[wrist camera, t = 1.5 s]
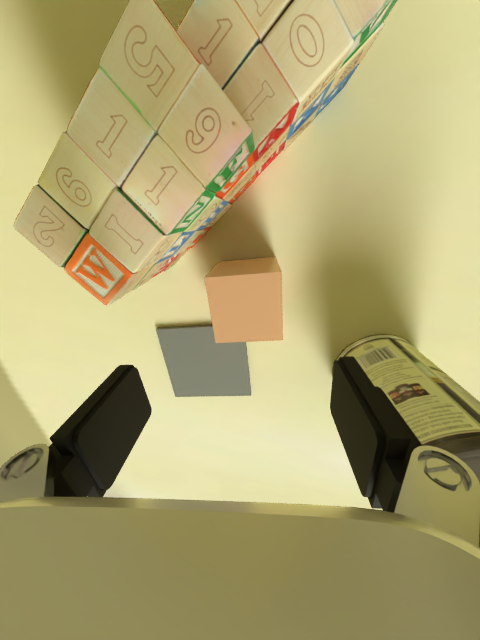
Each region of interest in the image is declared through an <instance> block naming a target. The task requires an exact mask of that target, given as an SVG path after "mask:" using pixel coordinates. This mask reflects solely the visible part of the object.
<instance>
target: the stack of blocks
mask: <svg viewBox="0 0 480 640" xmlns="http://www.w3.org/2000/svg"><path fill="white" fill-rule="evenodd" d="M396 1H397V0H194V1H193V3H192V4H191V6H190V8H189V10H188V12H187V13H186V15H185V17H184V18H183V20H182V22H181V24H180V25H179V27H178V29H177V31H176V30H175V29H174V27H173V26H172V25H171V23H170V22H169V21H168V19H167V18H166V16H165V15H164V13H163V12H162V11H161V9H160V8H159V6H158V5H157V4H156V2H155V1H154V0H129V2H128V4H127V6H126V8H125V10H124V12H123V14H122V16H121V18H120V20H119V22H118V25H117V27H116V29H115V30H114V32H113V34H112V36H111V38H110V40H109V42H108V44H107V46H106V48H105V50H104V52H103V54H102V56H101V58H100V60H99V68H98V69H97V71H96V72H95V74H94V76H93V77H92V79H91V81H90V83H89V85H88V87H87V89H86V91H85V93H84V95H83V97H82V99H81V101H80V104H79V106H78V108H77V109H76V111H75V113H74V115H73V117H72V118H71V121H70V123H69V125H68V128H67V131H66V132H63V134H62V135H61V137H60V139H59V141H58V143H57V145H56V147H55V149H54V151H53V152H52V154H51V156H50V158H49V160H48V162H47V164H46V166H45V168H44V170H43V172H42V174H41V176H40V178H39V180H38V183H39V184H38V185H36V186H34V187H33V188H32V190H31V192H30V194H29V196H28V198H27V199H26V201H25V203H24V205H23V207H22V209H21V211H20V213H19V215H18V216H17V218H16V220H15V222H14V226H13V227H14V228H15V230H17V231H18V232H19V233H20V234H21V235H22V236H24V237H25V238H26V239H27V240H28V241H30V242H31V243H32V244H33V245H34V246H35V247H37V248H38V249H39V250H40V251H41V252H42V253H44V254H45V255H46V256H47V257H48V258H49V259H50V260H51V261H52V262H54V263H55V264H56V265H57V266H58V267H64V270H65V272H66V273H67V274H68V275H69V276H70V277H72V278H73V279H74V280H75V281H77V282H78V283H79V284H80V285H81V286H83V287H84V288H85V289H86V290H87V291H89V292H90V293H91V294H92V295H93V296H95V297H96V298H97V299H98V300H99V301H101V302H102V303H103V304H105V305H107V306H108V305H109V304H111V303H113V302H114V301H116V300H117V299H119V298H121V297H122V296H124V295H125V294H127V293H128V292H130V291H132V290H134V289H136V288H137V287H139V286H141V285H142V284H144V283H146V282H148V281H149V280H150V279H151V278H152V277H154V276H156V275H157V274H159V273H161V272H162V271H166V270H167V269H169V268H170V267H172V266H173V265H175V263H176V262H177V261H178V260H179V259H180V258H181V257H182V256H183V255H184V254H185V253H186V252H187V251H188V250H189V249H190V248H192V247H193V246H194V245H195V244H196V243H197V242H198V241H199V240H200V239H201V238H202V237H203V236H204V235H205V234H206V232H207V231H208V230H209V229H210V228H211V227H212V226H213V225H214V224H215V223H216V222H217V221H218V220H219V219H220V218H221V217H222V216H223V215H224V214H225V213H226V212H227V211H228V210H229V209H230V208H231V207H232V205H233V203H234V201H236V200H237V199H238V198H239V196H240V195H241V194H242V193H243V192H244V191H245V190H246V189H247V188H248V187H249V186H250V185H251V184H252V183H253V182H254V181H255V179H256V177H257V176H258V175H259V174H260V173H261V172H262V171H263V170H264V169H265V168H266V167H267V166H268V165H269V164H270V163H271V162H272V161H273V160H274V159H275V158H276V156H277V155H278V154H279V153H280V152H281V151H282V150H283V151H284V150H285V149H286V148H287V147H288V146H289V145H290V144H291V143H292V142H293V141H294V140H295V139H296V138H297V137H298V136H299V135H300V134H301V133H302V132H303V131H304V129H305V128H306V127H307V126H308V125H309V124H310V123H311V122H312V121H313V119H314V118H315V117H316V116H317V115H318V114H319V113H320V112H321V111H322V110H323V109H324V108H325V107H326V106H327V105H328V103H329V102H330V101H331V100H332V99H333V98H334V97H335V96H336V95H337V94H338V93H339V92H340V91H341V90H342V89H343V87H344V86H345V85H346V83H347V82H348V80H349V79H350V77H351V75H352V74H353V73H354V71H355V69H356V68H357V66H358V65H359V63H360V61H361V60H362V59H363V57H364V56H365V54H366V53H367V51H368V50H369V48H370V47H371V45H372V44H373V42H374V40H375V39H376V37H377V36H378V34H379V33H380V31H381V29H382V28H383V26H384V20H385V19H386V17H387V16H388V14H389V12H390V11H391V9H392V8H393V6H394V5H395V3H396Z"/></svg>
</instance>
